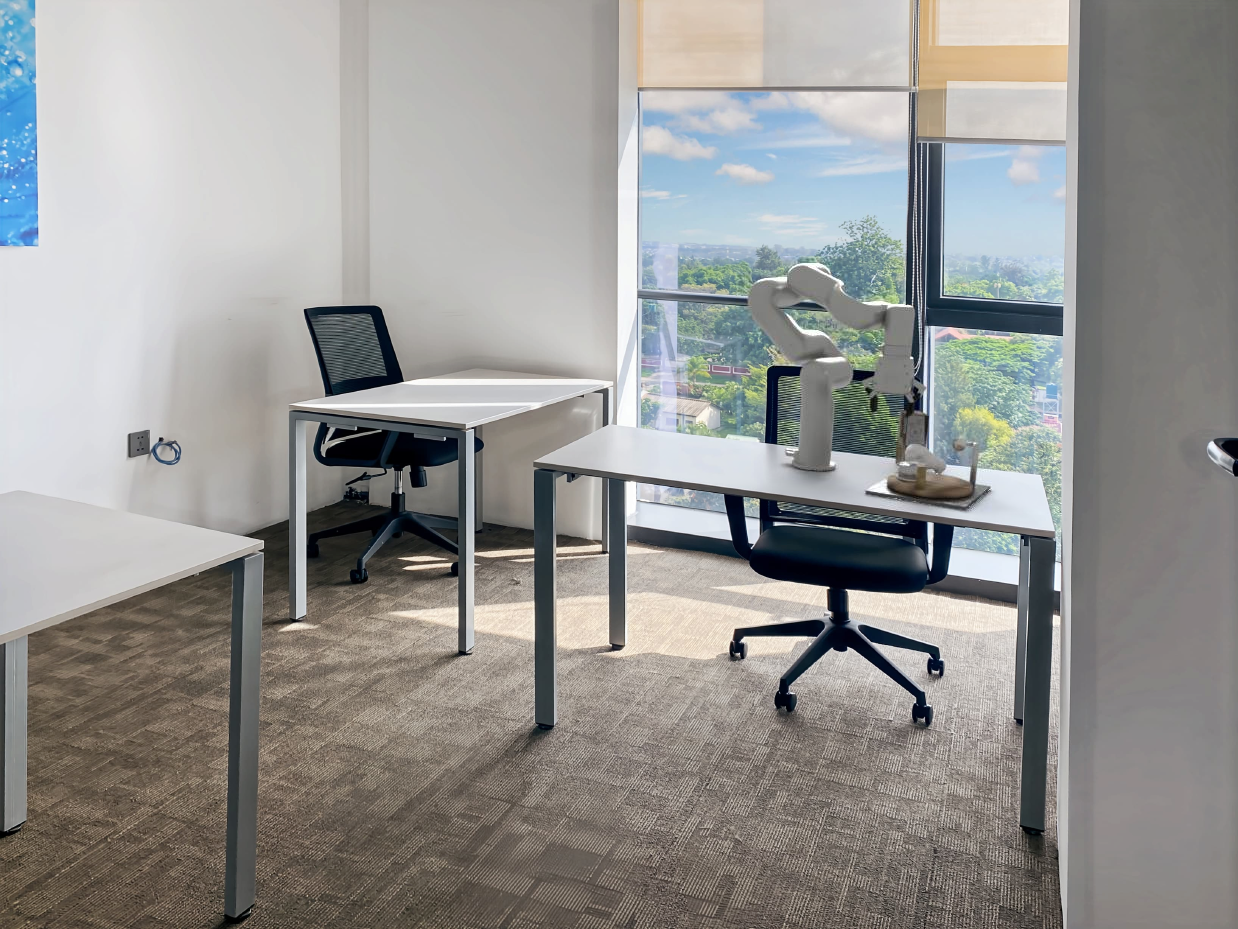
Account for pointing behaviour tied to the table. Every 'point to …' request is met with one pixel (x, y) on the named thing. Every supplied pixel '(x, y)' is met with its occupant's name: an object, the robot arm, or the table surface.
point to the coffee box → (911, 432)
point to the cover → (908, 471)
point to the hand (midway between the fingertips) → (891, 414)
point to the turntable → (932, 485)
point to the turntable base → (954, 503)
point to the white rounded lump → (924, 458)
